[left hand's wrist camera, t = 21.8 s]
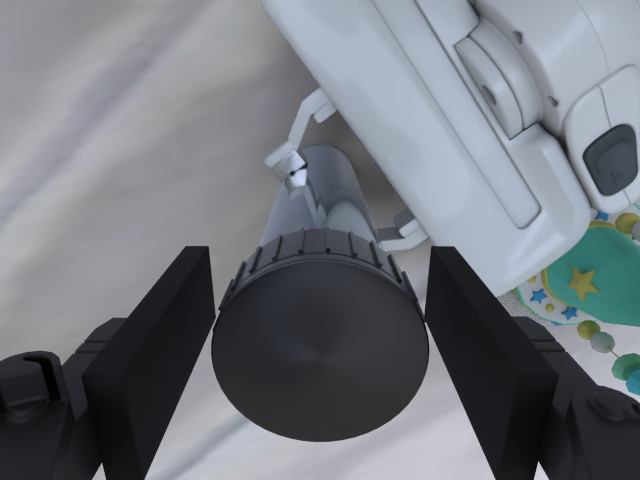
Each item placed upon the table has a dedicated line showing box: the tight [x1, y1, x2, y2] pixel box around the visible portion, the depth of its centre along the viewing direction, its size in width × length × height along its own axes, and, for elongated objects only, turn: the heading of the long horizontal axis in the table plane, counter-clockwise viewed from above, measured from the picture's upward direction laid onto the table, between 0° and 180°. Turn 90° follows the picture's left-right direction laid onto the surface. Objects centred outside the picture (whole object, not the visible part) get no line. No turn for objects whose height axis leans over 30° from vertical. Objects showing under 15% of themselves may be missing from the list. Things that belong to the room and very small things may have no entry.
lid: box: [211, 227, 429, 442], centre depth 11 cm, size 6×6×2 cm
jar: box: [258, 144, 384, 251], centre depth 20 cm, size 5×5×20 cm
